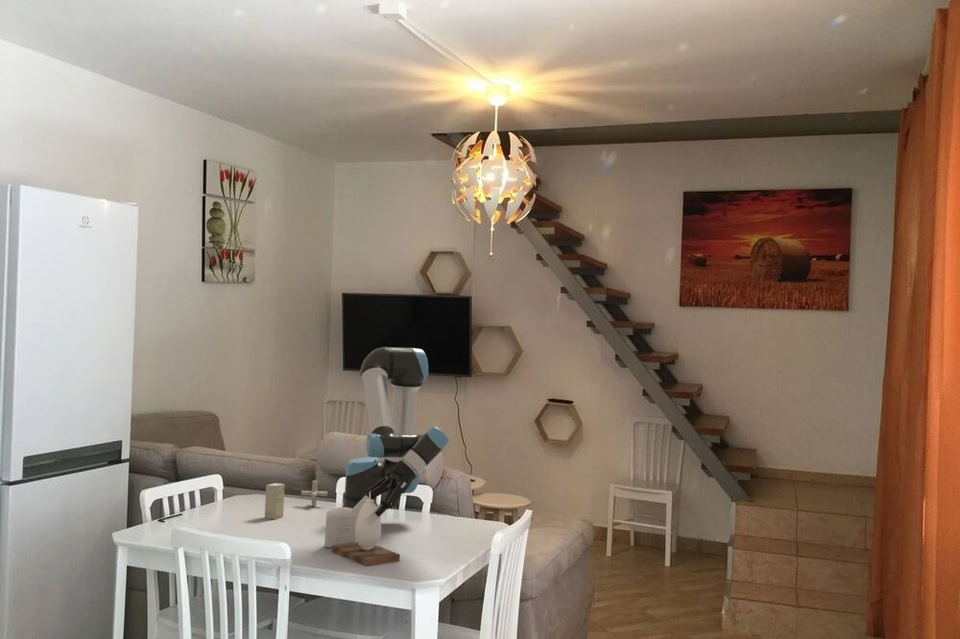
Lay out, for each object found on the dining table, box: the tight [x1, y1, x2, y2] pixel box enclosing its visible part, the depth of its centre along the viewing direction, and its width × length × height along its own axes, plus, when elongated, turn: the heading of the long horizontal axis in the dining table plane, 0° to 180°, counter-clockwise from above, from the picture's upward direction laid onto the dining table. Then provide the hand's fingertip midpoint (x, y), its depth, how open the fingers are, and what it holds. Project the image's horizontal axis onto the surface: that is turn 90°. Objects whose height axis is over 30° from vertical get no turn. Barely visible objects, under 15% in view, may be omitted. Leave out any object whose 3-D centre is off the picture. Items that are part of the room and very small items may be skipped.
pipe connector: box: [300, 480, 328, 507], centre depth 335 cm, size 10×10×10 cm
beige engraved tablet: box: [324, 506, 357, 549], centre depth 273 cm, size 10×4×12 cm, turn 119°
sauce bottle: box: [355, 492, 382, 550], centre depth 262 cm, size 8×8×18 cm
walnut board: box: [331, 541, 401, 567], centre depth 261 cm, size 20×12×2 cm, turn 40°
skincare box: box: [264, 482, 286, 520], centre depth 311 cm, size 6×4×12 cm
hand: (360, 518), depth 261 cm, fingers open, 13 cm apart
